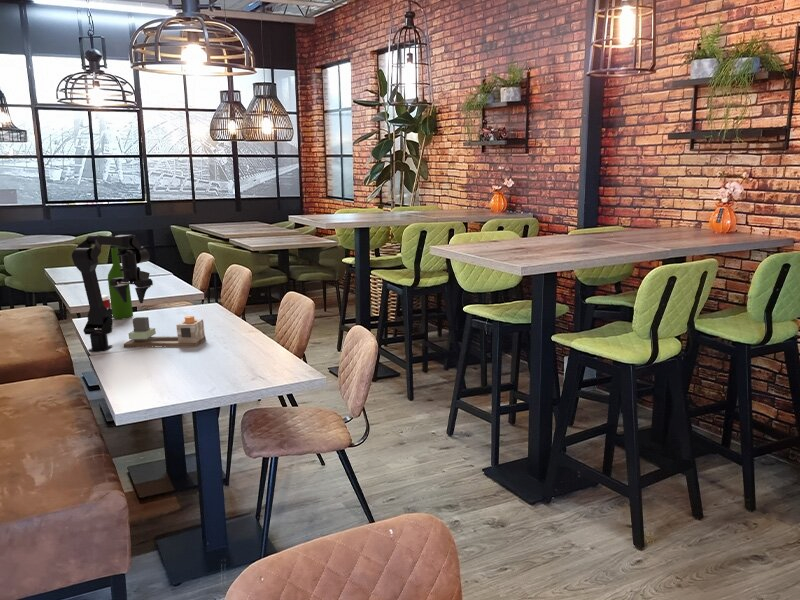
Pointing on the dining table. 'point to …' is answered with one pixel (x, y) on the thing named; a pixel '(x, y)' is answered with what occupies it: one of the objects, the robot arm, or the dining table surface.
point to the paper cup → (106, 300)
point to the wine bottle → (117, 304)
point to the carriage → (141, 329)
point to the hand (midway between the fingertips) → (133, 302)
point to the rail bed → (175, 337)
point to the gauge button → (189, 320)
